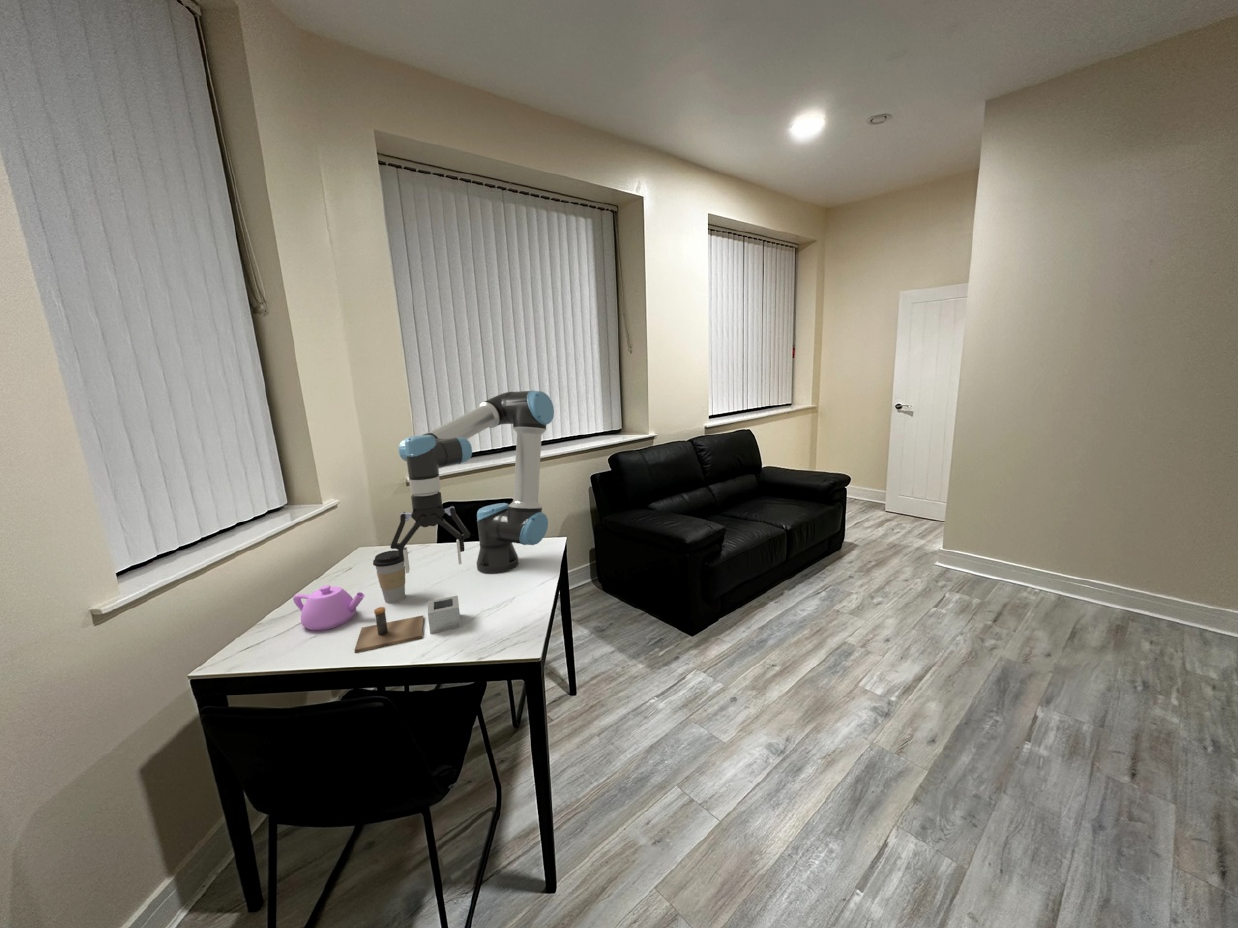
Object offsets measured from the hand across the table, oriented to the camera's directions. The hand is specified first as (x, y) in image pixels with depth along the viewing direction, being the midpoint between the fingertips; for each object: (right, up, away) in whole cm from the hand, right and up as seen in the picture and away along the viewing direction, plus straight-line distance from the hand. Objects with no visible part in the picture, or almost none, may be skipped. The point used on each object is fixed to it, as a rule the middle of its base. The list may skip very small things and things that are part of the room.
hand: (434, 566), depth 128 cm
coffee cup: (-21, -15, +20) cm, 32 cm away
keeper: (-11, -18, -2) cm, 21 cm away
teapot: (-33, -18, +8) cm, 38 cm away
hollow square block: (+2, -17, +3) cm, 17 cm away
